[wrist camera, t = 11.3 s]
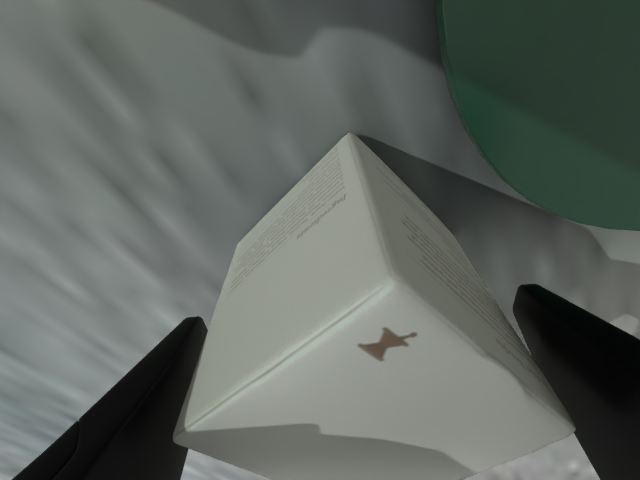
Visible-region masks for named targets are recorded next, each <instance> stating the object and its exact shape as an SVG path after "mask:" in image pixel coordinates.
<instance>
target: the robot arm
mask: <svg viewBox="0 0 640 480" xmlns="http://www.w3.org/2000/svg"><path fill="white" fill-rule="evenodd" d="M513 313H514V316H515V318H516V321H517V323H518V325H519V328H520V330H521V332H522V335H523V337H524V339H525V342H526V344H527V346H528V348H529V351H530V353H531V355H532V358H533V359H534V361H535V363H536V364H537V366H538V367H539V369H540V370H541V372H542V373H543V375H544V376H545V378H546V379H547V381H548V382H549V384H550V386H551V387H552V389H553V390H554V392H555V394H556V395H557V397H558V398H559V400H560V401H561V403H562V404H563V406H564V407H565V409H566V411H567V412H568V414H569V416H570V417H571V419H572V421H573V422H574V424H575V426H576V430H575V432H574V434H575V436H576V437H577V439H578V441H579V443H580V444H581V446H582V448H583V450H584V451H585V453H586V455H587V457H588V459H589V460H590V462H591V464H592V466H593V467H594V469H595V471H596V473H597V474H598V476H599V478H600V480H640V340H639V339H637V338H636V337H634V336H632V335H630V334H628V333H626V332H625V331H623V330H621V329H619V328H617V327H615V326H613V325H612V324H610V323H608V322H606V321H604V320H602V319H600V318H599V317H597V316H595V315H593V314H591V313H589V312H588V311H586V310H584V309H582V308H580V307H578V306H576V305H575V304H573V303H571V302H569V301H567V300H565V299H564V298H562V297H560V296H558V295H556V294H554V293H552V292H551V291H549V290H547V289H545V288H543V287H541V286H539V285H537V284H526V285H520V286H519V287H518V289H517V293H516V297H515V300H514V304H513ZM207 332H208V330H207V328H206V325H205V323H204V321H203V319H202V318H201V317H199V316H197V317H188V318H186V319H184V320H183V321H182V322H181V323H180V324H179V325H178V326H177V327H176V328H175V329H174V330H173V331H172V332H170V333H169V334H168V335H167V336H166V337H165V338H164V339H163V340H162V341H161V342H160V343H159V344H158V345H157V346H156V347H155V348H154V349H153V350H151V351H150V352H149V353H148V354H147V355H146V356H145V357H144V358H143V359H142V360H141V361H140V362H139V363H138V364H137V365H136V366H135V367H134V368H132V369H131V370H130V371H129V372H128V373H127V374H126V375H125V376H124V377H123V378H122V379H121V380H120V381H119V382H118V383H117V384H116V385H115V386H113V387H112V388H111V389H110V390H109V391H108V392H107V393H106V394H105V395H104V396H103V397H102V398H101V399H100V400H99V401H98V402H97V403H95V404H94V405H93V406H92V407H91V408H90V409H89V410H88V411H87V412H86V413H85V414H84V415H83V416H82V417H81V418H80V419H79V421H76V422H75V423H74V424H73V425H72V426H71V427H70V428H69V429H68V430H67V431H66V432H65V433H64V434H63V435H62V436H60V437H59V438H58V439H57V440H56V441H55V442H54V443H53V444H52V445H51V446H50V447H48V448H47V449H46V450H45V451H44V452H43V453H42V454H41V455H40V456H39V457H37V458H36V459H35V460H34V461H33V462H32V463H30V464H29V465H28V466H27V467H26V468H25V469H24V470H22V471H21V472H20V473H19V474H18V475H17V476H15V477H14V478H13V479H12V480H180V479H181V475H182V471H183V467H184V463H185V460H186V456H187V452H188V448H186V447H184V446H181V445H178V444H176V443H175V442H174V441H173V434H174V430H175V427H176V424H177V421H178V418H179V415H180V412H181V409H182V406H183V403H184V400H185V397H186V394H187V392H188V389H189V386H190V383H191V379H192V377H193V374H194V371H195V368H196V365H197V362H198V359H199V356H200V353H201V350H202V347H203V344H204V341H205V338H206V335H207Z"/></svg>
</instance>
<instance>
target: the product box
mask: <svg viewBox="0 0 640 480" xmlns="http://www.w3.org/2000/svg"><path fill="white" fill-rule="evenodd" d="M575 430H576V426H575V424H574V422H573V421H572V419H571V417H570V416H569V414H568V412H567V411H566V409H565V407H564V406H563V404H562V403H561V401H560V400H559V398H558V397H557V395H556V394H555V392H554V390H553V389H552V387H551V386H550V384H549V382H548V381H547V379H546V378H545V376H544V375H543V373H542V372H541V370H540V369H539V367H538V366H537V364H536V363H535V361H534V359H533V358H532V356H531V355H530V353H529V352H528V350H527V349H526V347H525V346H524V344H523V343H522V341H521V340H520V338H519V337H518V335H517V334H516V332H515V331H514V329H513V328H512V326H511V325H510V323H509V322H508V320H507V319H506V317H505V316H504V314H503V312H502V311H501V309H500V308H499V306H498V305H497V303H496V302H495V300H494V299H493V297H492V296H491V294H490V292H489V291H488V289H487V288H486V286H485V285H484V283H483V282H482V280H481V278H480V277H479V275H478V274H477V272H476V271H475V269H474V267H473V266H472V264H471V263H470V261H469V259H468V258H467V256H466V255H465V253H464V251H463V250H462V248H461V246H460V245H459V243H458V241H457V239H456V238H455V237H454V235H453V234H452V233H451V232H450V231H449V230H448V228H447V227H446V226H445V225H444V224H443V223H442V222H441V221H440V220H439V219H438V218H437V217H436V216H435V215H434V213H433V212H432V211H431V210H430V209H429V208H428V207H427V206H426V205H425V204H424V203H423V202H422V201H421V200H420V199H419V198H418V197H417V196H416V195H415V194H414V193H413V192H412V191H411V190H410V188H409V187H408V186H407V185H406V184H405V183H404V182H403V181H402V180H401V179H400V178H399V177H398V176H397V175H396V174H395V173H394V172H393V171H392V170H391V169H390V168H389V167H388V166H387V165H386V164H385V163H384V162H383V161H382V160H381V159H380V158H379V157H378V156H377V155H376V154H375V153H374V152H373V151H371V150H370V149H369V148H368V147H367V146H366V145H365V144H364V143H363V142H362V141H361V140H360V139H359V138H358V137H357V136H356V135H355V134H354V133H348V134H346V135H345V136H344V137H343V138H342V139H341V140H340V141H339V142H338V143H337V144H336V145H335V146H334V147H333V148H332V149H331V150H330V151H329V152H328V153H327V154H326V155H325V156H324V157H323V158H322V159H321V160H320V161H319V162H318V163H317V164H316V165H315V166H314V167H313V168H312V169H311V170H310V171H309V172H308V173H307V174H306V175H305V176H304V177H303V178H302V179H301V180H300V181H299V182H298V183H297V184H296V185H295V186H294V187H293V188H292V189H291V190H290V191H289V192H288V193H287V194H286V195H285V196H284V197H283V198H282V199H281V200H280V201H279V202H278V203H277V204H276V205H275V206H274V207H273V208H272V209H271V210H270V211H269V212H268V213H267V214H266V215H265V216H264V217H263V218H262V219H261V220H260V221H259V222H258V223H257V224H256V225H255V226H254V227H253V228H252V229H251V230H250V231H249V232H248V233H247V234H246V235H245V237H244V238H243V239H242V240H241V241H240V242H239V243H238V244H237V246H236V250H235V253H234V256H233V259H232V262H231V265H230V268H229V271H228V274H227V276H226V279H225V282H224V285H223V288H222V291H221V294H220V297H219V299H218V302H217V305H216V308H215V311H214V314H213V317H212V320H211V323H210V326H209V329H208V332H207V335H206V338H205V341H204V344H203V347H202V350H201V353H200V356H199V359H198V362H197V365H196V368H195V371H194V374H193V377H192V379H191V383H190V386H189V389H188V392H187V394H186V397H185V400H184V403H183V406H182V409H181V412H180V415H179V418H178V421H177V424H176V427H175V430H174V434H173V441H174V442H175V443H176V444H178V445H181V446H184V447H186V448H189V449H192V450H194V451H197V452H200V453H203V454H205V455H208V456H211V457H213V458H216V459H219V460H221V461H224V462H226V463H229V464H232V465H235V466H237V467H240V468H243V469H245V470H248V471H251V472H253V473H256V474H259V475H261V476H264V477H267V478H269V479H272V480H462V479H465V478H467V477H470V476H473V475H475V474H477V473H480V472H482V471H485V470H488V469H490V468H493V467H495V466H498V465H500V464H503V463H506V462H508V461H511V460H513V459H516V458H518V457H521V456H524V455H526V454H529V453H532V452H534V451H536V450H539V449H541V448H543V447H545V446H547V445H549V444H551V443H554V442H556V441H559V440H561V439H563V438H565V437H568V436H569V435H571V434H572V433H574V432H575Z"/></svg>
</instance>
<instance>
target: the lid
mask: <svg viewBox="0 0 640 480" xmlns="http://www.w3.org/2000/svg"><path fill="white" fill-rule="evenodd" d="M435 10H436V19H437V28H438V36H439V45H440V53H441V59H442V63H443V67H444V71H445V75H446V79H447V83H448V87H449V91H450V95H451V97H452V100H453V102H454V105H455V107H456V110H457V112H458V114H459V117H460V119H461V122H462V124H463V126H464V129H465V130H466V132H467V134H468V135H469V137H470V139H471V140H472V142H473V143H474V145H475V147H476V148H477V150H478V152H479V153H480V155H481V156H482V157H483V158H484V160H485V161H486V162H487V163H488V164H489V165H490V166H491V168H492V169H493V170H494V171H495V172H496V173H497V174H498V175H499V177H500V178H502V179H503V180H504V181H505V182H506V183H507V184H509V185H510V186H511V187H513V188H514V189H515V190H516V191H518V192H519V193H520V194H521V195H523V196H524V197H525V198H526V199H528V200H529V201H530V202H532V203H534V204H536V205H538V206H540V207H542V208H543V209H545V210H547V211H549V212H551V213H553V214H555V215H558V216H561V217H563V218H566V219H569V220H572V221H575V222H578V223H581V224H586V225H592V226H597V227H602V228H607V229H619V230H636V231H640V0H435Z"/></svg>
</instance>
